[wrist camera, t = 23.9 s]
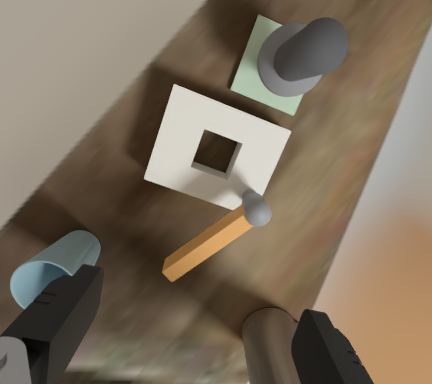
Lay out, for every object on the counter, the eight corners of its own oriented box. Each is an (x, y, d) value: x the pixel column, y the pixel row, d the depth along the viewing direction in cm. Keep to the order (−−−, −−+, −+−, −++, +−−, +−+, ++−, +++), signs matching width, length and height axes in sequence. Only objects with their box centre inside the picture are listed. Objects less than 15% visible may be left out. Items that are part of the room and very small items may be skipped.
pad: (323, 46, 35) (325, 45, 35) (292, 115, 38) (293, 115, 37) (257, 15, 34) (258, 14, 33) (230, 89, 36) (230, 89, 36)
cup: (65, 214, 41) (20, 250, 31) (116, 235, 42) (88, 276, 32) (49, 255, 42) (1, 302, 33) (97, 275, 44) (66, 325, 34)
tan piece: (256, 188, 33) (262, 197, 30) (269, 205, 34) (276, 216, 31) (162, 254, 36) (158, 270, 32) (177, 269, 36) (174, 287, 33)
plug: (314, 50, 35) (383, 17, 21) (290, 106, 37) (340, 107, 23) (263, 27, 34) (302, -23, 20) (240, 85, 36) (264, 74, 22)
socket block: (282, 128, 38) (297, 133, 32) (248, 206, 41) (255, 224, 35) (177, 85, 36) (171, 82, 30) (149, 171, 39) (139, 184, 33)
